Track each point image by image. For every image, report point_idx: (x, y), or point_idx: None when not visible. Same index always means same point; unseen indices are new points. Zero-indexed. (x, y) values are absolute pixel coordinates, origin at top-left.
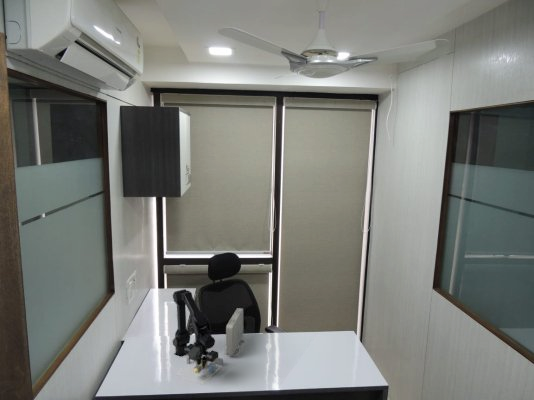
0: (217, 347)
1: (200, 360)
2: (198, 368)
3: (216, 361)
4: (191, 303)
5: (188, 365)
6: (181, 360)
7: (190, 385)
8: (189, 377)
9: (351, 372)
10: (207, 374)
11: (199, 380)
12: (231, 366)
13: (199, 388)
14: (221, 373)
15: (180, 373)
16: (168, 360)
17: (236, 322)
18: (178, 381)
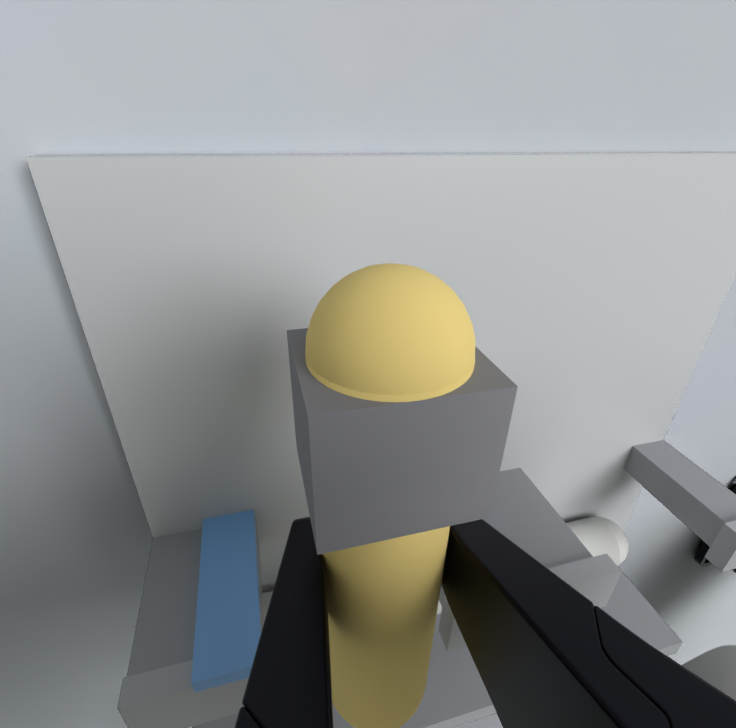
0: (468, 723)
1: (493, 675)
2: (322, 431)
3: None
4: None
5: (630, 430)
6: (733, 444)
7: (322, 12)
8: (489, 222)
9: None
10: (238, 459)
11: (237, 254)
12: (99, 717)
13: (6, 9)
14: (79, 591)
15: (686, 228)
16: None
17: None
18: (641, 15)
